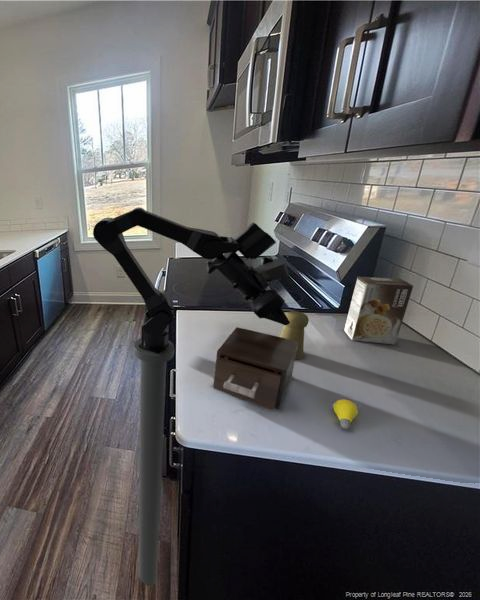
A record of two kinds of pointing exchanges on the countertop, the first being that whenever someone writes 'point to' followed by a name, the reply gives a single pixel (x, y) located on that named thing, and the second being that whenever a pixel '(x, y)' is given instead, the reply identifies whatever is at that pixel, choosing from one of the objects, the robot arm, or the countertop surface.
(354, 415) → the light bulb
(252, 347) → the cabinet
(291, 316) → the cork
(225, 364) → the drawer
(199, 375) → the countertop surface
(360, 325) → the coffee box
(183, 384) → the countertop surface
